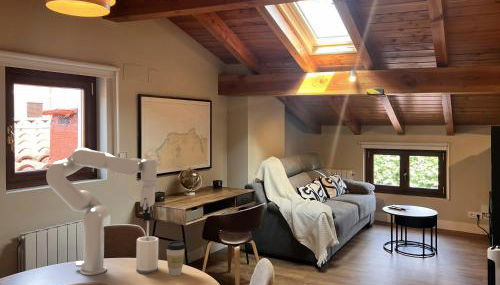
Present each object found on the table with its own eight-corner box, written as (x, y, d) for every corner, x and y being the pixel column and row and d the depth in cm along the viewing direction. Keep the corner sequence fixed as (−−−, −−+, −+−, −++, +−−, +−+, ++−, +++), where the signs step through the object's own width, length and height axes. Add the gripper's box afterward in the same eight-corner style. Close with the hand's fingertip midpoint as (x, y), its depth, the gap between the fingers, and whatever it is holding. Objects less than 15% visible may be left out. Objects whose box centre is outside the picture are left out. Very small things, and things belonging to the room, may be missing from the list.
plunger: (138, 248, 208) (139, 212, 208) (142, 244, 215) (143, 209, 215) (152, 249, 208) (153, 212, 207) (156, 245, 215) (157, 209, 214)
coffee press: (133, 273, 207) (134, 241, 206) (141, 265, 219) (141, 235, 219) (154, 274, 206) (155, 242, 206) (161, 265, 219) (161, 235, 219)
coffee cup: (180, 277, 203) (181, 247, 202) (161, 275, 205) (162, 245, 204) (187, 271, 212) (188, 241, 212) (169, 269, 214) (170, 240, 214)
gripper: (146, 181, 219) (145, 216, 220) (136, 185, 202) (135, 223, 203) (160, 181, 219) (159, 216, 219) (151, 186, 202) (150, 223, 203)
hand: (148, 219), depth 211 cm, fingers closed on plunger, 3 cm apart
